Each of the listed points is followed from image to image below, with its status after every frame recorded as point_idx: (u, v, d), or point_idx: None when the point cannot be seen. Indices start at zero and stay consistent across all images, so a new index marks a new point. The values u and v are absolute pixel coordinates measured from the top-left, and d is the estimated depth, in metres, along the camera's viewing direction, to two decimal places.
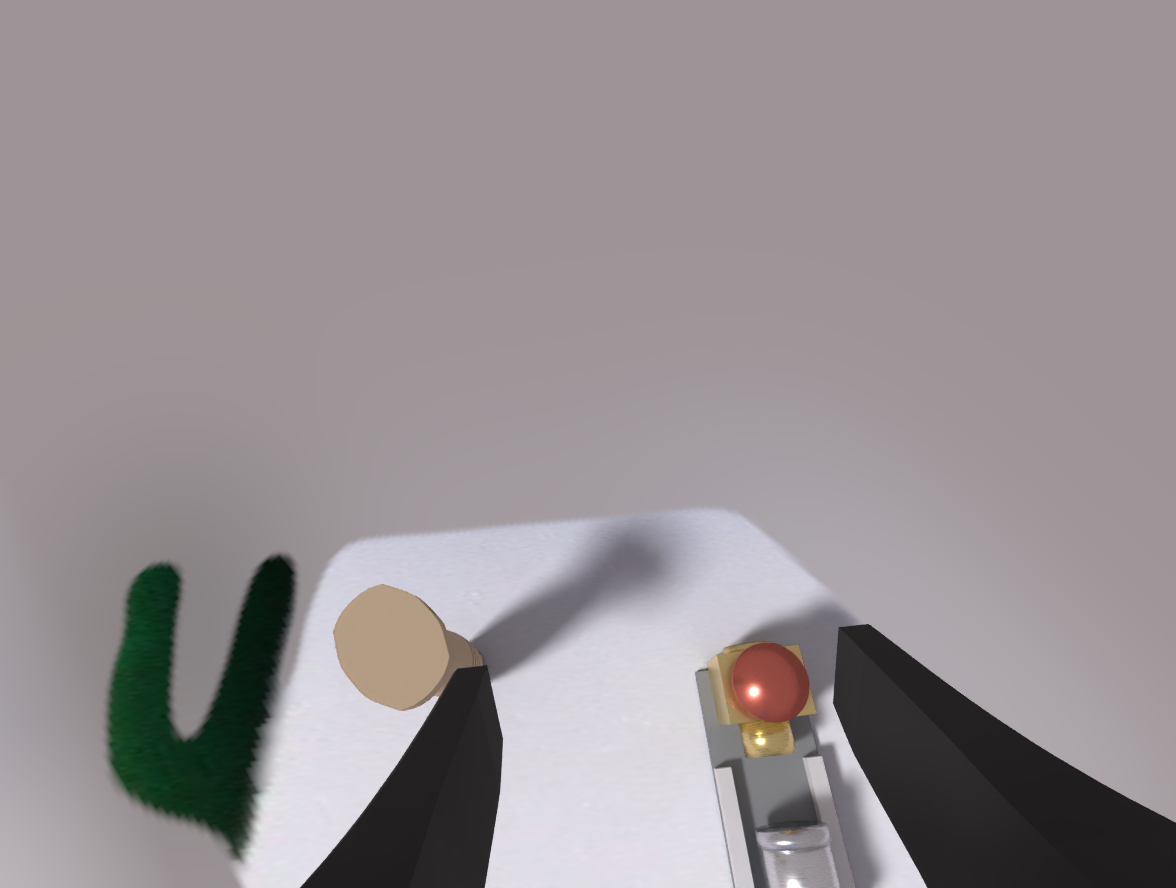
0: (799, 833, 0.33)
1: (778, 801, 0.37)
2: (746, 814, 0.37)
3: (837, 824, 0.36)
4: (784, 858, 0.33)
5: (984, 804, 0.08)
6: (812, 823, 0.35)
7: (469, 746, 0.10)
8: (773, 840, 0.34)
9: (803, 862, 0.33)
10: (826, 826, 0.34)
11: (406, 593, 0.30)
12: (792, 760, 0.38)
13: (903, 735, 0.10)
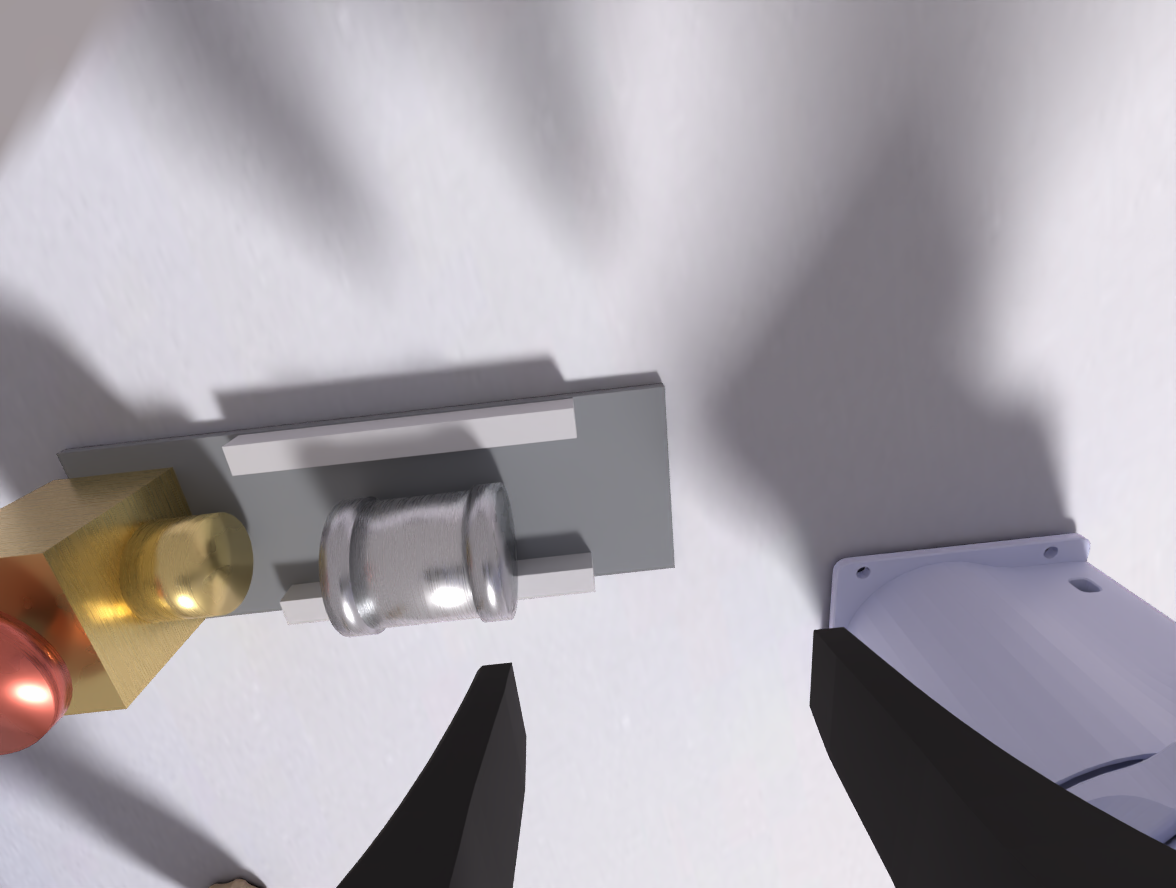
0: (337, 628, 0.17)
1: None
2: None
3: (341, 437, 0.18)
4: (390, 627, 0.18)
5: (947, 808, 0.08)
6: None
7: (498, 743, 0.10)
8: None
9: (385, 621, 0.17)
10: (320, 562, 0.16)
11: None
12: (258, 481, 0.20)
13: (873, 738, 0.10)
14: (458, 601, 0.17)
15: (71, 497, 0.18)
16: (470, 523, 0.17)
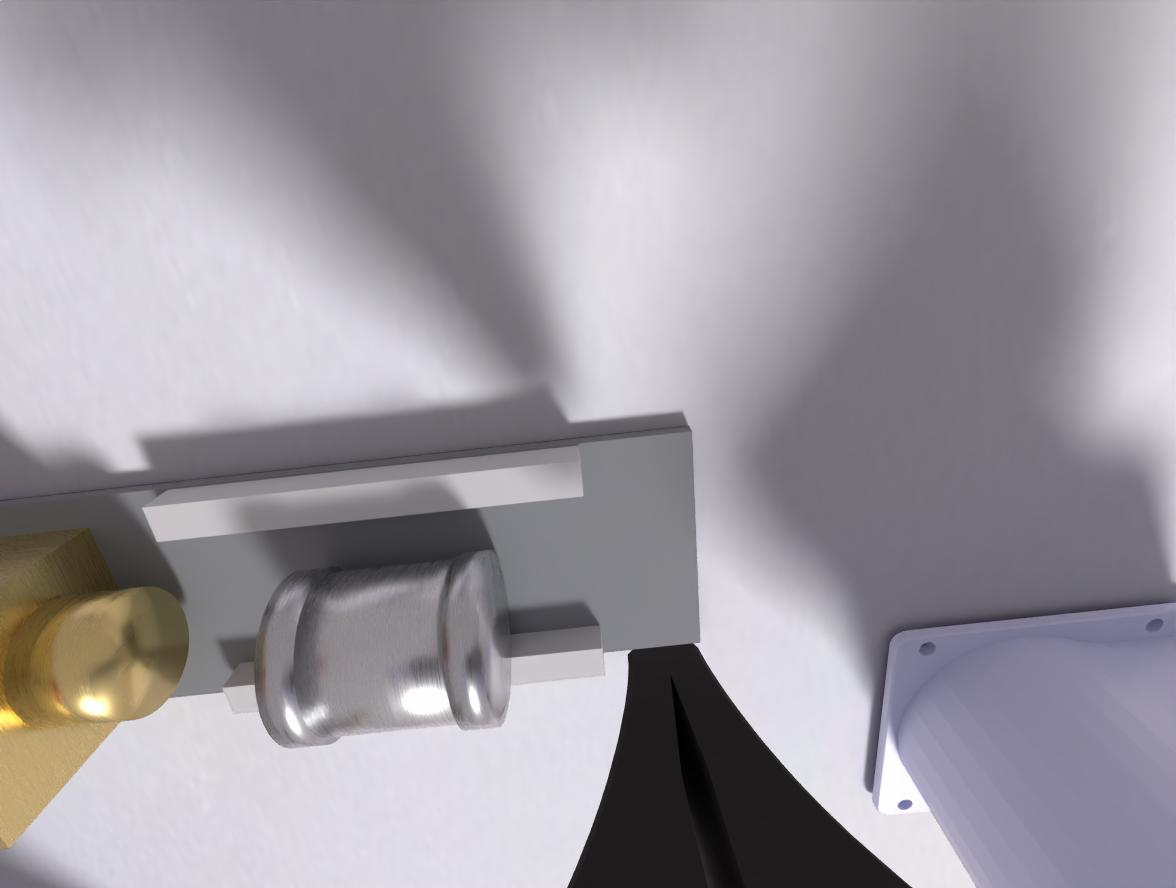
0: (280, 742, 0.14)
1: None
2: None
3: (290, 496, 0.15)
4: None
5: (721, 832, 0.08)
6: None
7: None
8: None
9: (341, 732, 0.14)
10: (255, 664, 0.13)
11: None
12: (194, 543, 0.16)
13: (691, 758, 0.10)
14: (433, 711, 0.13)
15: None
16: (448, 612, 0.13)
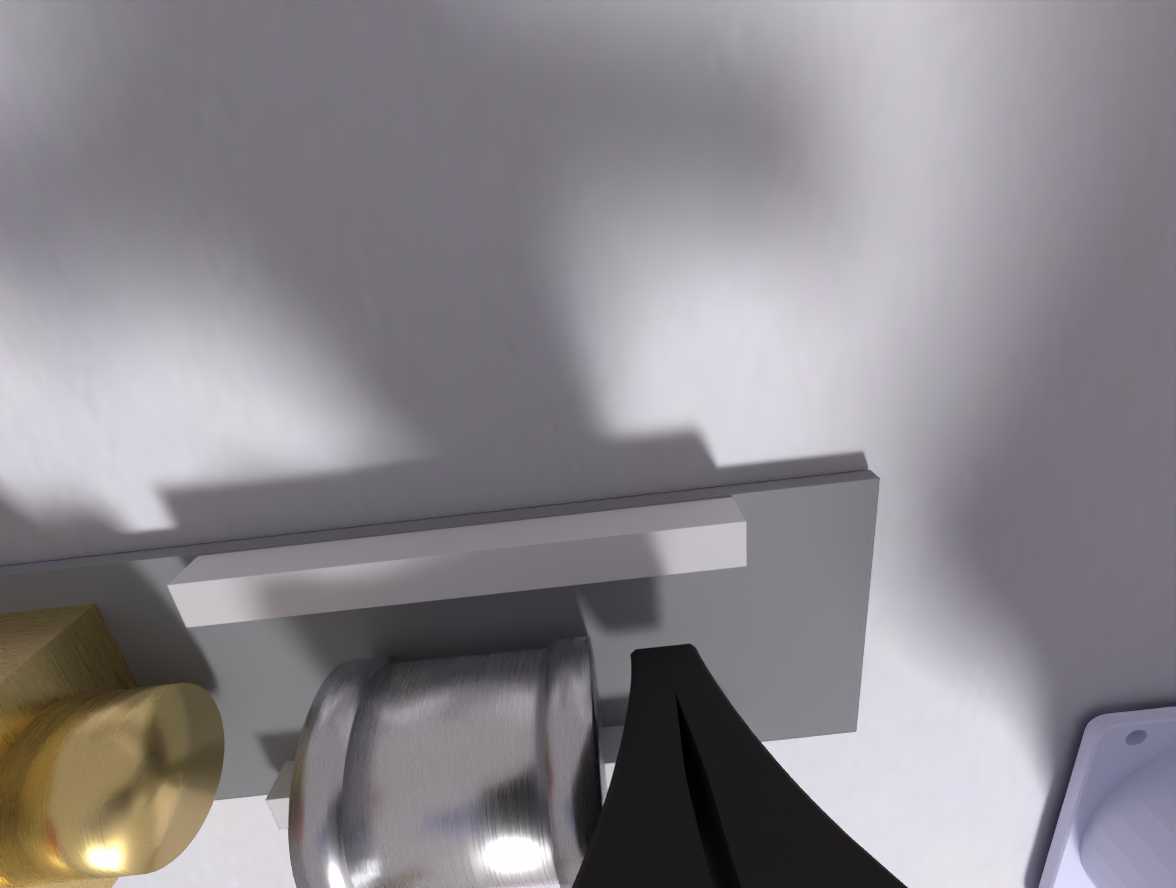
0: None
1: None
2: None
3: (363, 569, 0.11)
4: None
5: (718, 832, 0.08)
6: None
7: None
8: None
9: None
10: (290, 816, 0.09)
11: None
12: None
13: (689, 758, 0.10)
14: (530, 876, 0.10)
15: None
16: (552, 743, 0.10)
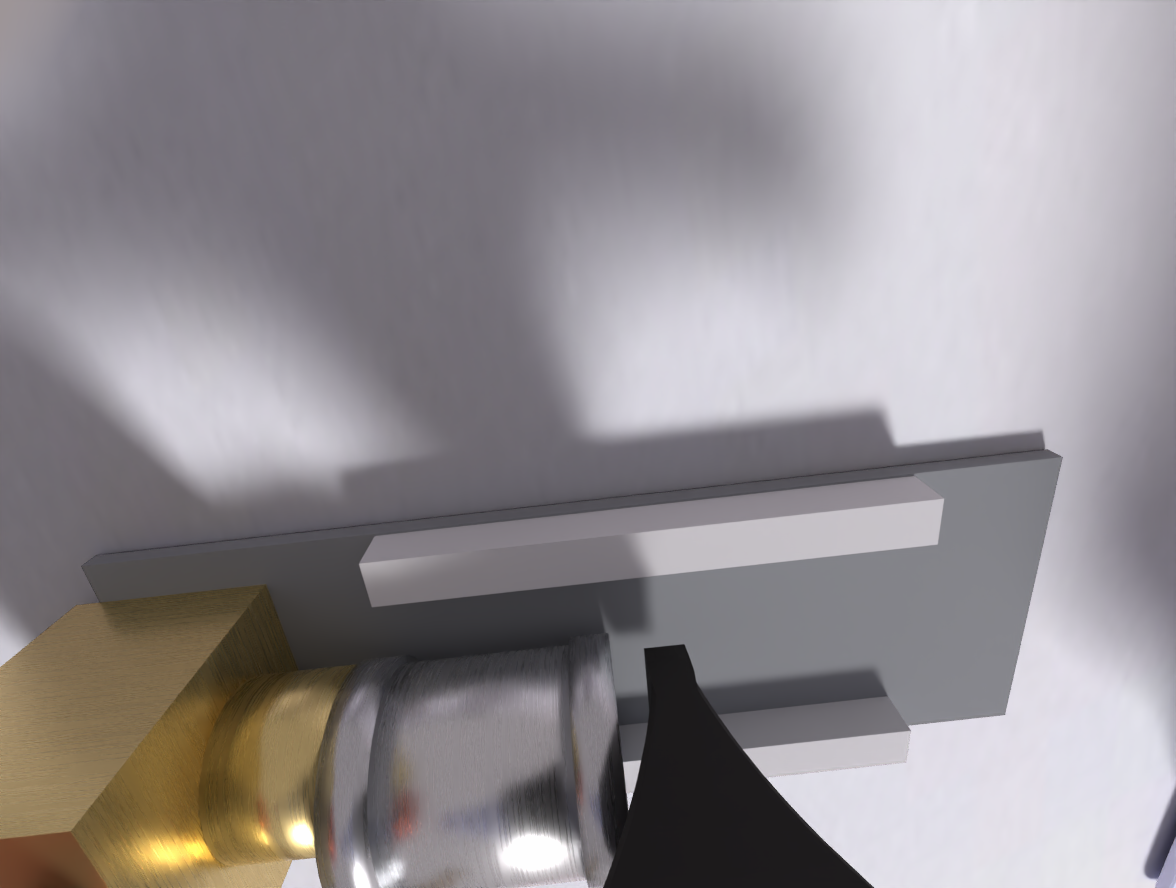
0: None
1: (510, 646, 0.13)
2: None
3: (557, 547, 0.11)
4: None
5: None
6: None
7: None
8: None
9: None
10: (315, 817, 0.09)
11: None
12: None
13: None
14: (557, 873, 0.10)
15: (109, 652, 0.11)
16: (579, 740, 0.10)
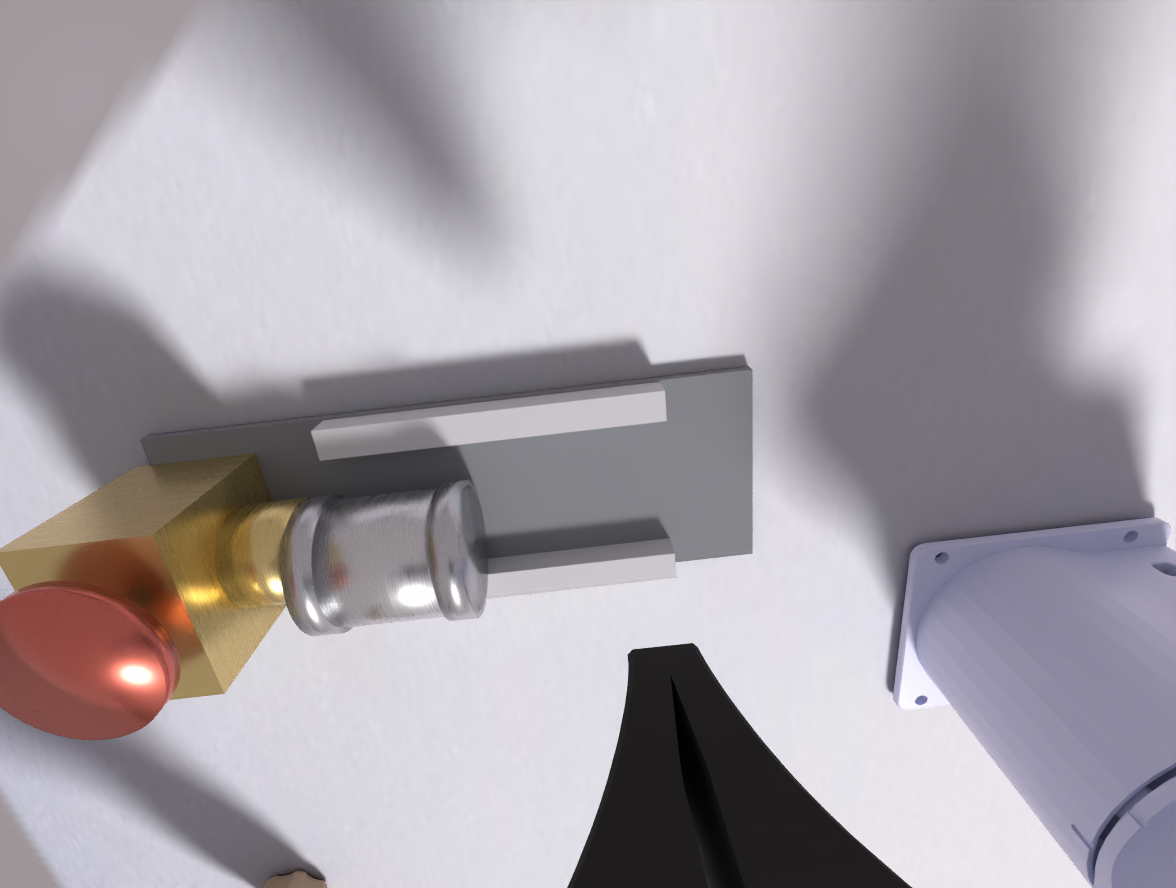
0: (301, 627, 0.17)
1: None
2: None
3: (431, 421, 0.18)
4: None
5: (721, 831, 0.08)
6: None
7: None
8: None
9: (349, 620, 0.17)
10: (281, 562, 0.16)
11: None
12: (340, 466, 0.20)
13: (691, 757, 0.10)
14: (422, 600, 0.17)
15: (161, 482, 0.18)
16: (433, 522, 0.17)
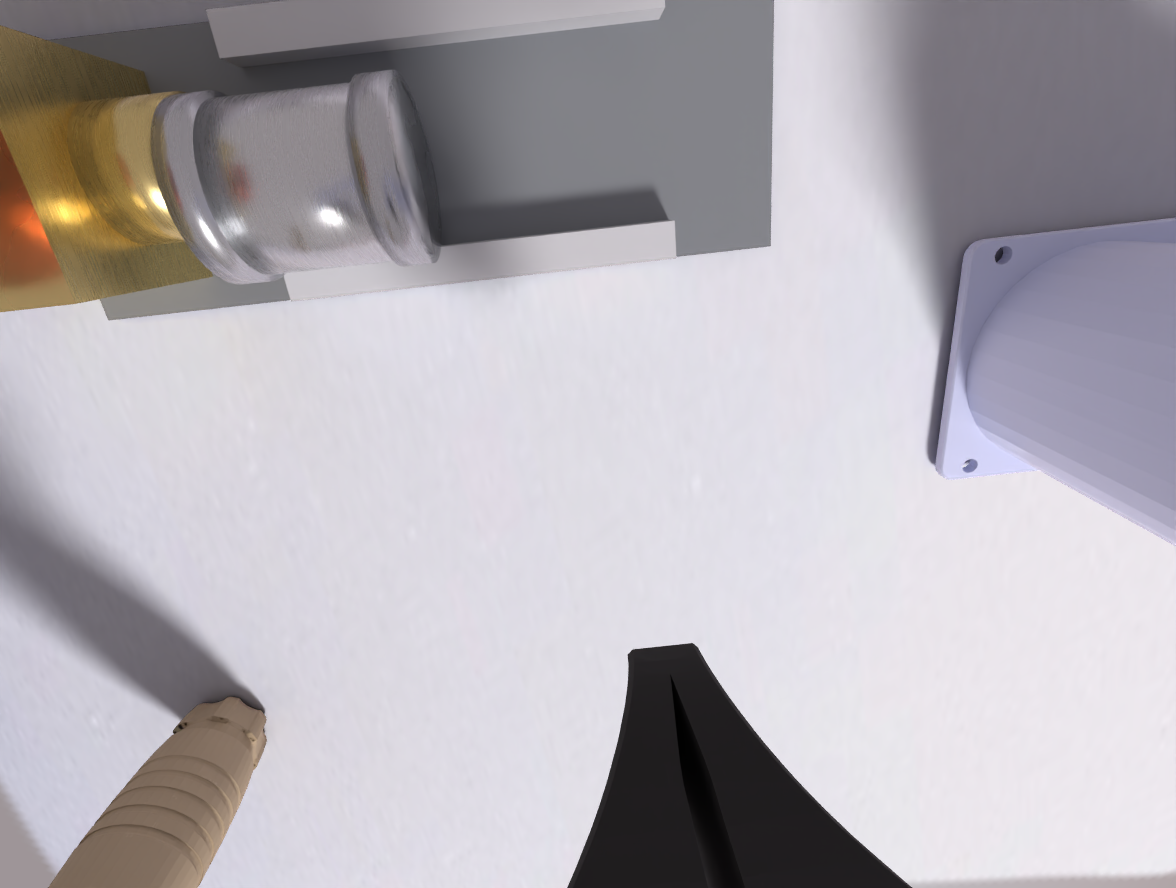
0: (183, 235, 0.13)
1: None
2: None
3: None
4: (263, 263, 0.14)
5: (721, 832, 0.08)
6: None
7: None
8: (237, 279, 0.14)
9: (248, 230, 0.13)
10: (152, 128, 0.12)
11: None
12: None
13: (691, 757, 0.10)
14: (341, 193, 0.13)
15: None
16: (356, 86, 0.13)
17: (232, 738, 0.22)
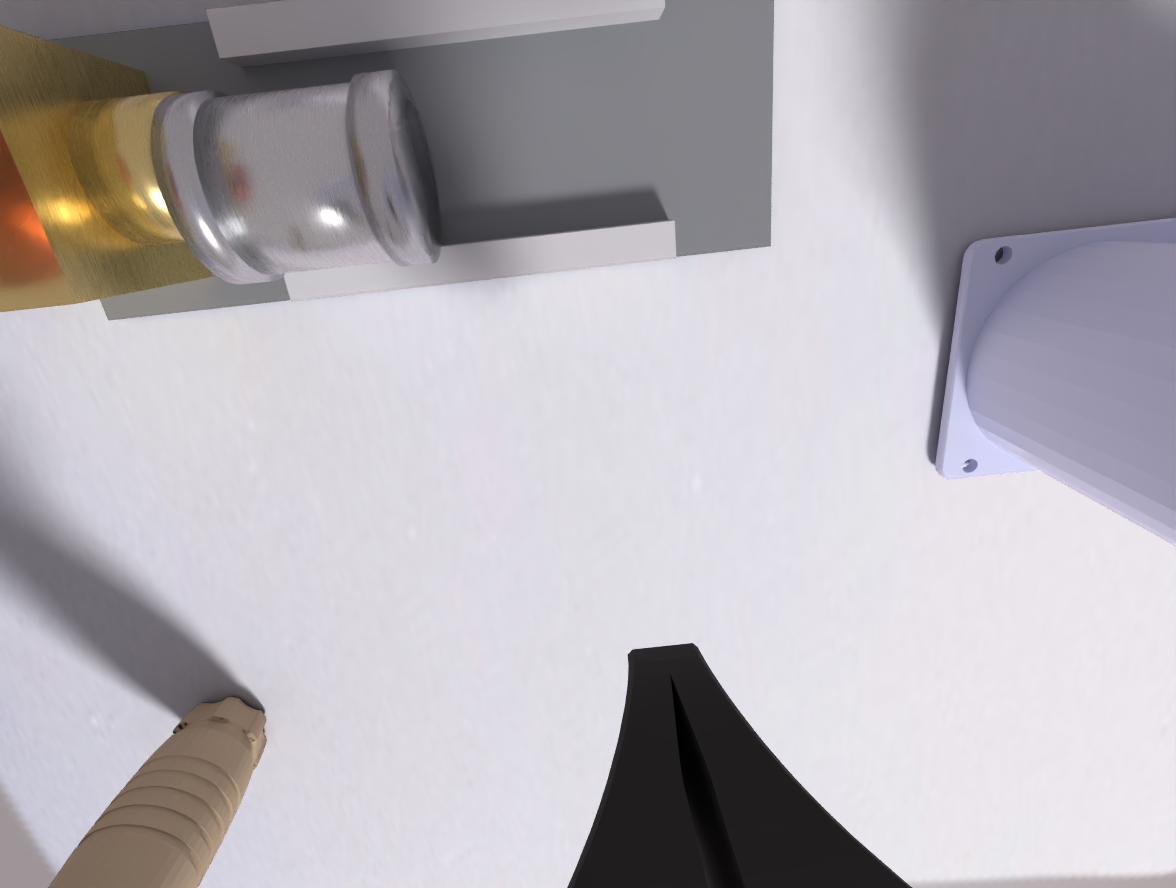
0: (183, 235, 0.13)
1: None
2: None
3: None
4: (263, 263, 0.14)
5: (721, 832, 0.08)
6: None
7: None
8: (237, 279, 0.14)
9: (249, 231, 0.13)
10: (152, 129, 0.12)
11: None
12: None
13: (691, 757, 0.10)
14: (341, 193, 0.13)
15: None
16: (356, 86, 0.13)
17: (232, 738, 0.22)
